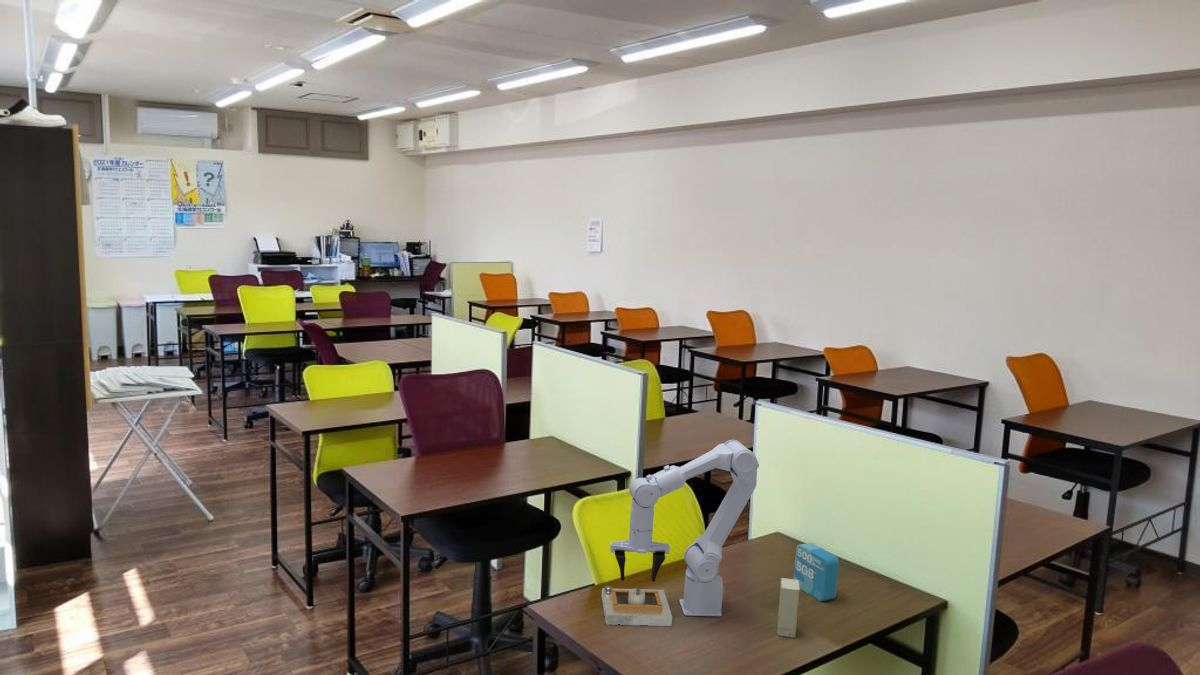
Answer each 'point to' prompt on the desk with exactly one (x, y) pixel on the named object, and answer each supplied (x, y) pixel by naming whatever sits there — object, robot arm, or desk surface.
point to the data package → (816, 571)
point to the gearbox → (635, 608)
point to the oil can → (636, 596)
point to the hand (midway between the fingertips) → (637, 579)
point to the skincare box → (788, 607)
